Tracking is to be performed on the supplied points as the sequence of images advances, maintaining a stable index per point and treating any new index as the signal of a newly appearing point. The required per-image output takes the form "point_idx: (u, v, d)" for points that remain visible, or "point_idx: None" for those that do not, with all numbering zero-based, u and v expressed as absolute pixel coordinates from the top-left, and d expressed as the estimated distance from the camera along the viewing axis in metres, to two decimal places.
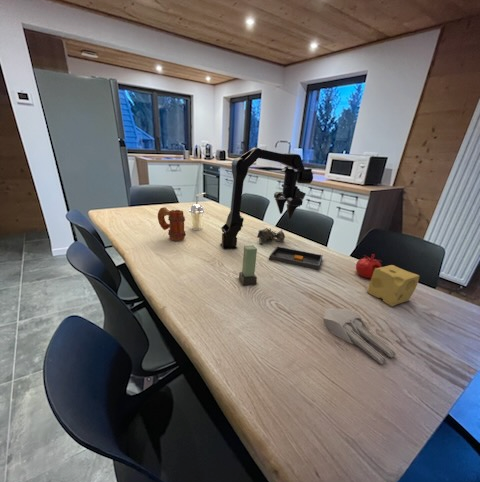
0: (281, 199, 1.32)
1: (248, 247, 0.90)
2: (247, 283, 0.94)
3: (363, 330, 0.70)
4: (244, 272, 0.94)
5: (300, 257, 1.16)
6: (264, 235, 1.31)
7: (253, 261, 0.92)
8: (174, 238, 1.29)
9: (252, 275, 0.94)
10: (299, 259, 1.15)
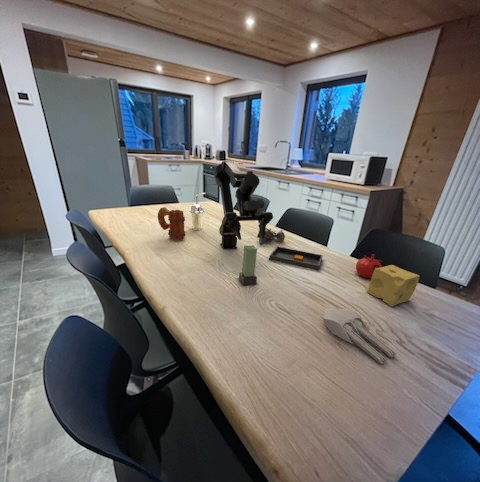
0: (261, 222, 1.02)
1: (248, 247, 0.90)
2: (247, 283, 0.94)
3: (363, 330, 0.70)
4: (244, 272, 0.94)
5: (300, 257, 1.16)
6: (264, 235, 1.31)
7: (253, 261, 0.92)
8: (174, 238, 1.29)
9: (252, 275, 0.94)
10: (299, 259, 1.15)
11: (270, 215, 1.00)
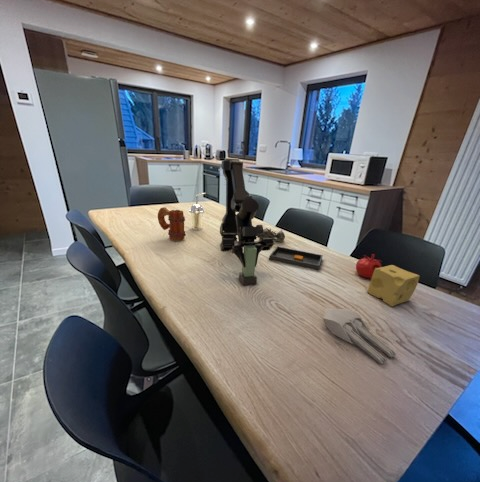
0: None
1: (248, 247, 0.90)
2: (247, 283, 0.94)
3: (363, 330, 0.70)
4: (244, 272, 0.94)
5: (300, 257, 1.16)
6: (264, 235, 1.31)
7: (253, 261, 0.91)
8: (174, 238, 1.29)
9: (252, 275, 0.94)
10: (299, 259, 1.15)
11: (270, 241, 0.94)
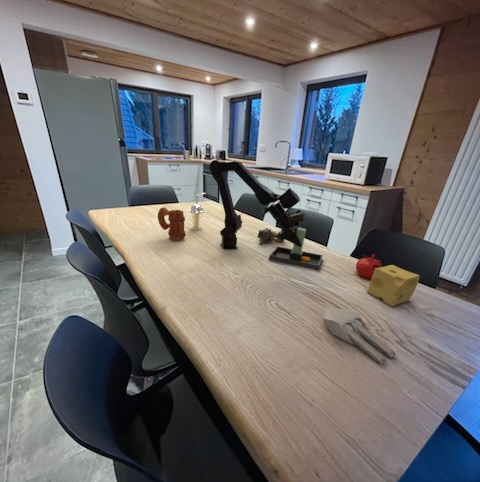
0: None
1: (301, 229, 1.11)
2: None
3: (363, 330, 0.70)
4: (297, 251, 1.14)
5: (307, 259, 1.15)
6: (264, 235, 1.31)
7: (303, 240, 1.14)
8: (174, 238, 1.29)
9: (301, 251, 1.16)
10: (306, 260, 1.14)
11: (300, 221, 1.18)
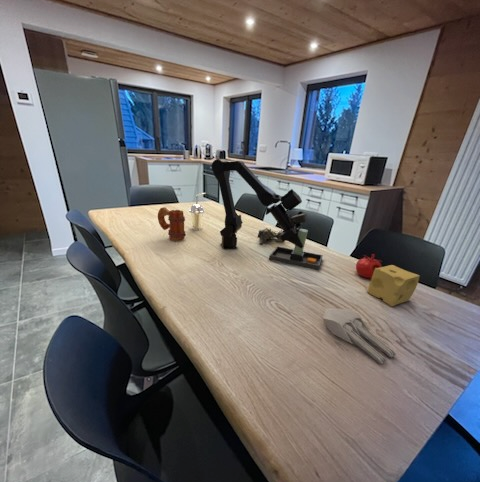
0: None
1: (303, 230, 1.11)
2: (301, 259, 1.16)
3: (363, 330, 0.70)
4: (298, 251, 1.14)
5: (313, 260, 1.14)
6: (264, 235, 1.31)
7: None
8: (174, 238, 1.29)
9: (302, 252, 1.16)
10: (312, 262, 1.13)
11: (301, 222, 1.18)
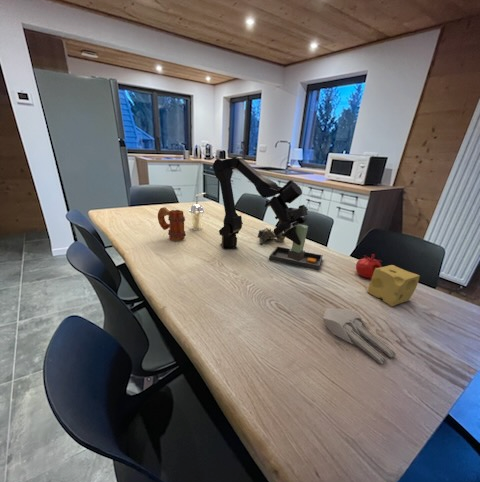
0: None
1: (301, 226, 1.01)
2: (300, 258, 1.06)
3: (363, 330, 0.70)
4: (296, 249, 1.05)
5: (313, 260, 1.14)
6: (264, 235, 1.31)
7: (304, 238, 1.04)
8: (174, 238, 1.29)
9: (302, 250, 1.06)
10: (312, 262, 1.13)
11: (305, 218, 1.08)
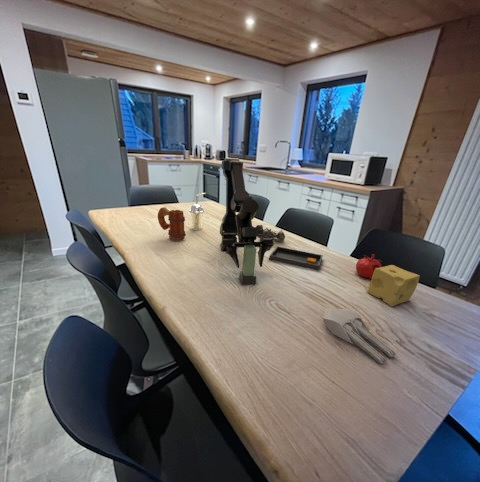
0: (260, 249, 0.96)
1: (248, 247, 0.91)
2: (246, 282, 0.94)
3: (363, 330, 0.70)
4: (243, 271, 0.94)
5: (313, 260, 1.14)
6: (264, 235, 1.31)
7: (252, 261, 0.92)
8: (174, 238, 1.29)
9: (251, 275, 0.94)
10: (312, 262, 1.13)
11: (270, 242, 0.94)
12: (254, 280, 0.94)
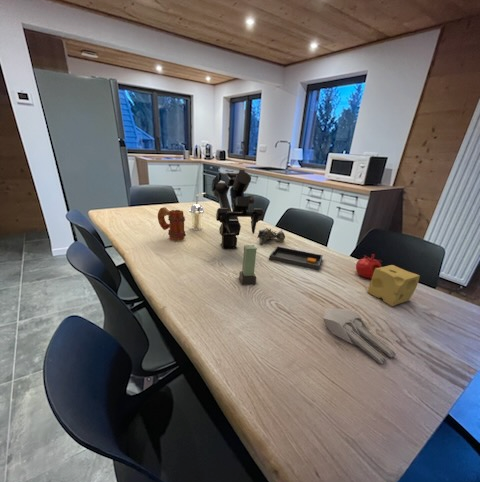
0: (252, 218, 1.07)
1: (248, 247, 0.91)
2: (246, 282, 0.94)
3: (363, 330, 0.70)
4: (243, 271, 0.94)
5: (313, 260, 1.14)
6: (264, 235, 1.31)
7: (252, 261, 0.92)
8: (174, 238, 1.29)
9: (251, 275, 0.94)
10: (312, 262, 1.13)
11: (261, 211, 1.05)
12: (254, 280, 0.94)
